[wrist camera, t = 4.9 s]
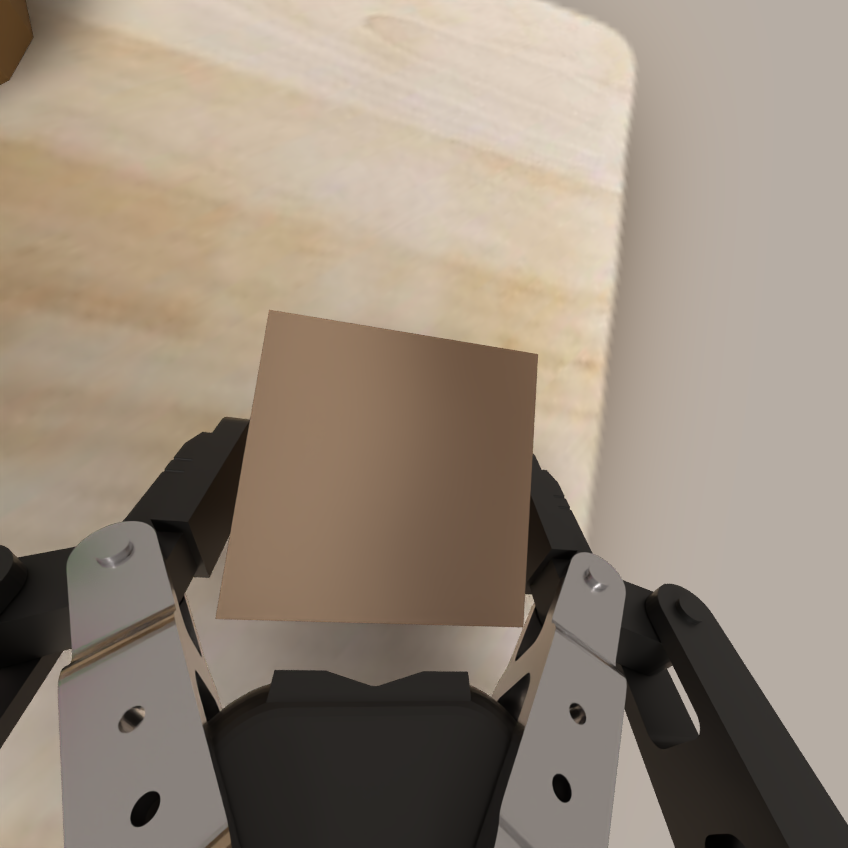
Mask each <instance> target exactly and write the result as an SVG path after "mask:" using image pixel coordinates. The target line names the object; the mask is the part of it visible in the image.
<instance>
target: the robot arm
mask: <svg viewBox="0 0 848 848" xmlns="http://www.w3.org/2000/svg"><path fill="white" fill-rule="evenodd" d="M249 423H250V420H248V419H240V418H231V417H224V418H223V419H222V420H221V421H220V423H219V424H218V426H217V427H216V428H215V430H214V431H213V433H207V432H202V433H200V434H199V435H197V436H195V437H194V438H192V439H191V440H189V441H188V442H186V443H185V444H184V445H183V446H182V448H181V449H180V450H179V451H178V453H177V454H176V455H175V457H174V460H171V462H170V463H169V464H168V465H167V467H166V468H165V471H164V472H162V473H161V474H160V475H159V477H158V478H157V479H156V480H155V482H154V483H153V484H152V486H151V487H150V488H149V489H148V491H147V492H146V493H145V494H144V496H143V497H142V498H141V499H140V501H139V502H138V503H137V504H136V506H135V507H134V508H133V510H132V511H131V512H130V513H129V515H128V516H127V517H126V518H125V519H124V520H123V522H120V523H116V524H112V525H109V526H107V527H104V528H102V529H100V530H98V531H96V532H94V533H92V534H91V535H89V536H88V537H86V538H85V539H84V540H83V541H81V542H80V543H79V544H78V545H77V546H76V547H72V548H67V549H61V550H56V551H51V552H45V553H40V554H34V555H29V556H24V557H18V558H17V557H16V556H15V555H14V554H13V553H12V552H11V551H10V550H9V549H8V548H6V547H5V546H2V545H0V749H1V747H2V745H3V744H4V742H5V741H6V739H7V738H8V736H9V735H10V733H11V731H12V730H13V728H14V727H15V725H16V724H17V722H18V721H19V719H20V717H21V716H22V714H23V713H24V711H25V710H26V708H27V706H28V705H29V703H30V702H31V700H32V699H33V697H34V696H35V694H36V692H37V691H38V689H39V688H40V686H41V685H42V683H43V682H44V680H45V678H46V677H47V675H48V674H49V672H50V671H51V669H52V668H53V666H54V664H55V663H56V661H57V660H58V658H59V657H60V655H61V654H62V652H63V651H64V650H68V649H72V660H71V663H70V664H69V665H67V666H65V667H64V668H63V669H62V671H61V673H60V676H59V681H58V707H59V731H60V756H61V780H62V805H63V829H64V848H608V843H609V833H610V825H611V817H612V808H613V800H614V792H615V783H616V775H617V766H618V757H619V749H620V741H621V732H622V724H623V715H624V709H625V711H626V714H627V717H628V720H629V722H630V725H631V728H632V730H633V733H634V736H635V739H636V741H637V744H638V747H639V750H640V752H641V755H642V758H643V761H644V764H645V766H646V769H647V772H648V774H649V777H650V780H651V783H652V785H653V788H654V791H655V794H656V796H657V799H658V802H659V805H660V807H661V810H662V813H663V816H664V818H665V821H666V823H667V826H668V829H669V832H670V835H671V838H672V840H673V843H674V846H675V848H848V825H847V823H846V821H845V820H844V818H843V817H842V815H841V814H840V812H839V811H838V809H837V808H836V806H835V804H834V803H833V801H832V800H831V798H830V796H829V795H828V793H827V792H826V790H825V789H824V787H823V786H822V784H821V782H820V781H819V779H818V778H817V776H816V775H815V773H814V772H813V770H812V768H811V767H810V765H809V764H808V762H807V761H806V759H805V757H804V756H803V755H802V753H801V751H800V750H799V748H798V747H797V745H796V744H795V742H794V740H793V739H792V737H791V736H790V734H789V733H788V731H787V729H786V728H785V726H784V725H783V723H782V722H781V720H780V719H779V717H778V715H777V714H776V712H775V711H774V709H773V708H772V706H771V705H770V703H769V701H768V700H767V698H766V697H765V695H764V694H763V692H762V690H761V689H760V687H759V686H758V684H757V683H756V681H755V680H754V678H753V677H752V675H751V673H750V672H749V670H748V669H747V667H746V666H745V664H744V663H743V661H742V659H741V658H740V656H739V655H738V653H737V652H736V650H735V649H734V647H733V645H732V644H731V642H730V641H729V639H728V637H727V636H726V634H725V633H724V631H723V630H722V628H721V627H720V625H719V623H718V622H717V621H716V619H715V617H714V616H713V614H712V613H711V611H710V610H709V609H708V608H707V606H706V605H705V604H704V603H703V602H702V601H701V600H700V599H699V598H698V597H696V596H695V595H694V594H693V593H691V592H690V591H688V590H686V589H684V588H683V587H681V586H678V585H674V584H664V585H662V586H661V587H659V588H658V589H657V590H655V591H654V592H653V591H650V590H647V589H644V588H642V587H639V586H636V585H634V584H631V583H629V582H626V581H624V580H622V579H621V577H620V575H619V573H618V572H617V571H616V570H615V569H614V567H613V566H612V565H611V564H609V563H608V562H607V561H606V560H604V559H603V558H601V557H599V556H597V555H594V554H593V553H592V551H591V549H590V547H589V545H588V543H587V541H586V539H585V537H584V535H583V533H582V531H581V529H580V527H579V525H578V523H577V521H576V519H575V517H574V515H573V512H572V510H570V506H569V504H568V502H567V500H566V499H564V494H563V492H562V490H561V488H560V486H559V484H558V482H557V481H556V480H555V479H554V478H553V477H552V476H551V475H550V474H549V472H548V471H547V470H541V468H540V465H539V463H538V461H537V459H536V457H535V455H534V454H533V455H532V473H531V492H530V510H529V529H528V547H527V566H526V584H525V594H532V596H533V599H534V602H535V603H534V604H533V606H532V607H531V609H530V612H529V614H528V617H527V619H526V622H525V624H524V627H523V629H522V632H521V634H520V637H519V639H518V642H517V644H516V647H515V649H514V652H513V655H512V657H511V660H510V662H509V664H508V666H507V668H506V670H505V672H504V673H503V675H502V677H501V678H500V680H499V682H498V684H497V686H496V688H495V690H494V692H493V694H492V696H491V697H490V696H489V695H487V694H486V693H485V692H483V691H481V690H479V689H477V688H475V687H473V686H470V685H469V677H468V672H436V671H423V672H420V673H417V674H414V675H411V676H408V677H405V678H401V679H398V680H395V681H392V682H389V683H386V684H383V685H380V686H370V685H367V684H364V683H361V682H358V681H355V680H352V679H349V678H346V677H343V676H340V675H337V674H334V673H331V672H328V671H315V670H275V671H274V675H273V679H272V683H271V684H268V685H265V686H262V687H260V688H257V689H255V690H253V691H251V692H248V693H247V694H245V695H243V696H242V697H240V698H238V699H236V700H235V701H233V702H232V703H231V704H229V705H228V706H226V707H225V708H224V709H222V706H221V703H220V700H219V696H218V693H217V690H216V687H215V684H214V681H213V679H212V676H211V673H210V671H209V668H208V666H207V663H206V660H205V657H204V653H203V650H202V647H201V643H200V640H199V636H198V633H197V630H196V626H195V623H194V620H193V616H192V613H191V609H190V606H189V603H188V599H187V596H186V593H185V592H186V590H187V588H188V586H189V584H190V582H191V580H192V578H193V577H205V578H209V577H210V575H211V573H212V571H213V569H214V567H215V565H216V563H217V560H218V558H219V556H220V554H221V552H222V550H223V548H224V546H225V544H226V541H227V539H228V537H229V535H230V532H231V527H232V521H233V515H234V509H235V504H236V498H237V492H238V486H239V481H240V475H241V469H242V463H243V458H244V452H245V446H246V440H247V435H248V429H249ZM671 666H673V667H674V669H675V671H676V673H677V675H678V677H679V679H680V681H681V683H682V685H683V687H684V689H685V691H686V693H687V695H688V697H689V699H690V702H691V704H692V706H693V708H694V710H695V712H696V714H697V716H698V719H699V723H700V734H699V735H698V732H697V730H696V728H695V726H694V724H693V722H692V720H691V718H690V716H689V714H688V712H687V710H686V708H685V705H684V703H683V701H682V699H681V697H680V695H679V693H678V691H677V689H676V687H675V684H674V682H673V680H672V678H671V676H670V674H669V672H668V670H667V668H669V667H671Z"/></svg>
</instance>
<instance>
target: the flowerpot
mask: <svg viewBox="0 0 848 848" xmlns="http://www.w3.org/2000/svg"><path fill="white" fill-rule="evenodd" d="M32 38H33V33H32V29H31V24H30V19H29V14H28V10H27V5H26V0H0V85H1V84H3V83H5V82H7V81H9V80H10V78H11V76H12V74H13V73H14V71H15V69H16V67H17V65H18V64H19V62H20V60H21V58H22V56H23V55H24V53H25V51H26V49H27V47H28V46H29V44H30V42H31V40H32Z"/></svg>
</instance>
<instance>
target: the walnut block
mask: <svg viewBox="0 0 848 848" xmlns="http://www.w3.org/2000/svg"><path fill="white" fill-rule="evenodd" d="M537 363H538V354H534V353H527V352H521V351H515V350H509V349H503V348H497V347H491V346H485V345H479V344H473V343H467V342H461V341H455V340H449V339H443V338H437V337H431V336H425V335H419V334H413V333H406V332H400V331H394V330H388V329H382V328H376V327H370V326H364V325H358V324H352V323H346V322H340V321H334V320H328V319H322V318H316V317H310V316H304V315H298V314H292V313H286V312H279V311H273V310H269V314H268V320H267V326H266V331H265V337H264V343H263V349H262V354H261V360H260V366H259V372H258V377H257V383H256V389H255V395H254V400H253V406H252V412H251V418H250V423H249V429H248V435H247V440H246V446H245V452H244V458H243V463H242V469H241V475H240V481H239V486H238V492H237V498H236V504H235V509H234V515H233V521H232V527H231V532H230V538H229V544H228V549H227V555H226V561H225V567H224V572H223V578H222V584H221V590H220V595H219V601H218V607H217V613H216V618H215V619H237V620H274V621H311V622H348V623H385V624H421V625H458V626H495V627H523V621H524V602H525V584H526V566H527V547H528V529H529V510H530V492H531V473H532V455H533V437H534V418H535V400H536V381H537Z"/></svg>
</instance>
